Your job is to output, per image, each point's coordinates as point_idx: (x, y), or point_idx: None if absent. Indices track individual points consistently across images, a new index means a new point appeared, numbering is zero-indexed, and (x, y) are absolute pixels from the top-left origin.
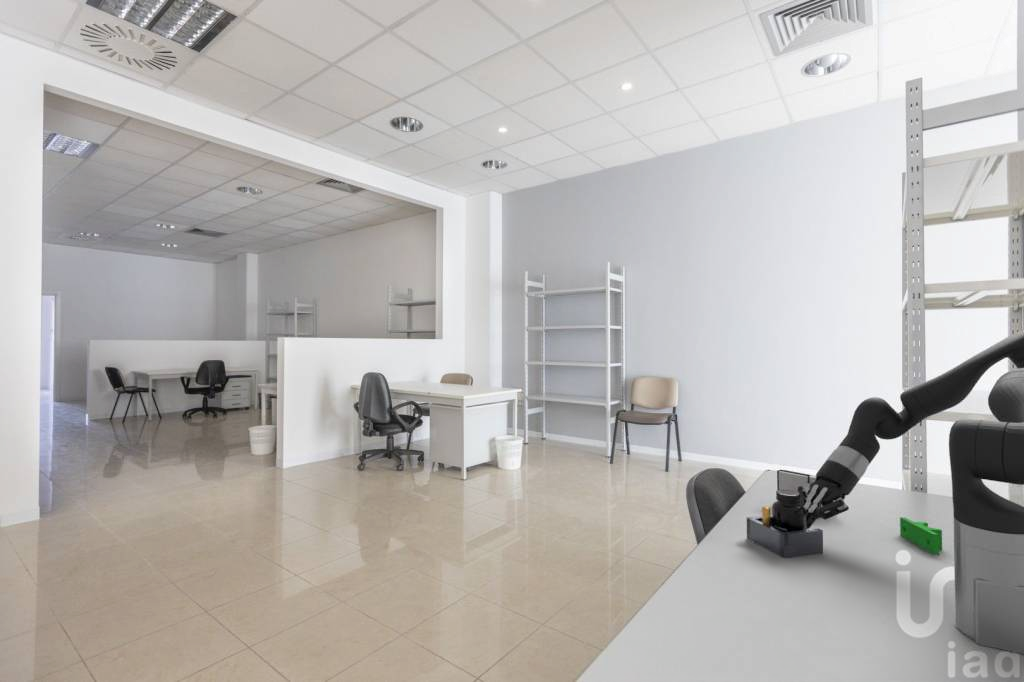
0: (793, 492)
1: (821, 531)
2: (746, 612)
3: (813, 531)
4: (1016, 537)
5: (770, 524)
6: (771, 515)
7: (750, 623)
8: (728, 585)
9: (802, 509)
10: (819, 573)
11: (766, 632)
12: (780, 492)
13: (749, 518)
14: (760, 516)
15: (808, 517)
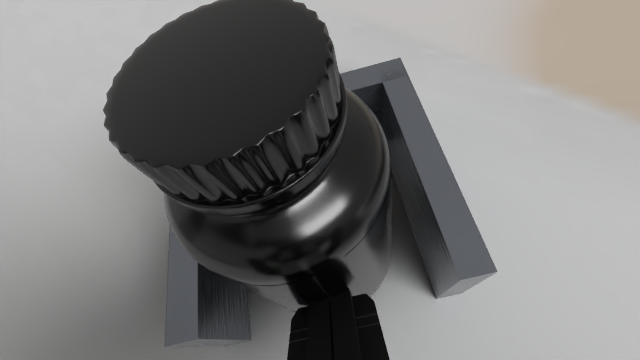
0: (181, 107)
1: (169, 336)
2: (53, 17)
3: (169, 275)
4: None
5: (410, 181)
6: (447, 180)
7: (29, 15)
8: (134, 13)
9: (166, 210)
10: (103, 215)
11: (3, 26)
12: (231, 11)
13: (384, 64)
14: (421, 118)
15: (304, 355)
